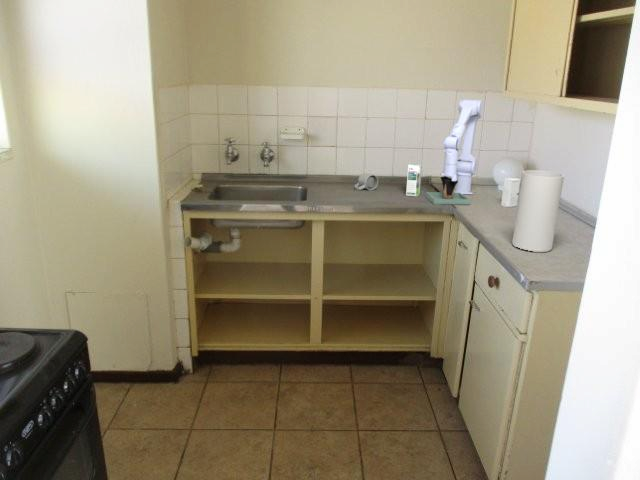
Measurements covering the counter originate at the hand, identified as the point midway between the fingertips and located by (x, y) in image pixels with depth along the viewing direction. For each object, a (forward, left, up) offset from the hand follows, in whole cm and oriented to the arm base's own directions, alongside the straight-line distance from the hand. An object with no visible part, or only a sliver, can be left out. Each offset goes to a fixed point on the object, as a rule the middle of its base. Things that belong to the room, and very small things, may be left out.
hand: (447, 193), depth 237 cm
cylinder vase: (+65, +10, -4) cm, 66 cm away
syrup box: (-12, -13, -4) cm, 18 cm away
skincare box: (+7, +26, -4) cm, 27 cm away
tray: (0, 0, -3) cm, 3 cm away
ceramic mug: (-24, -34, -4) cm, 42 cm away
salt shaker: (0, 0, -2) cm, 2 cm away
